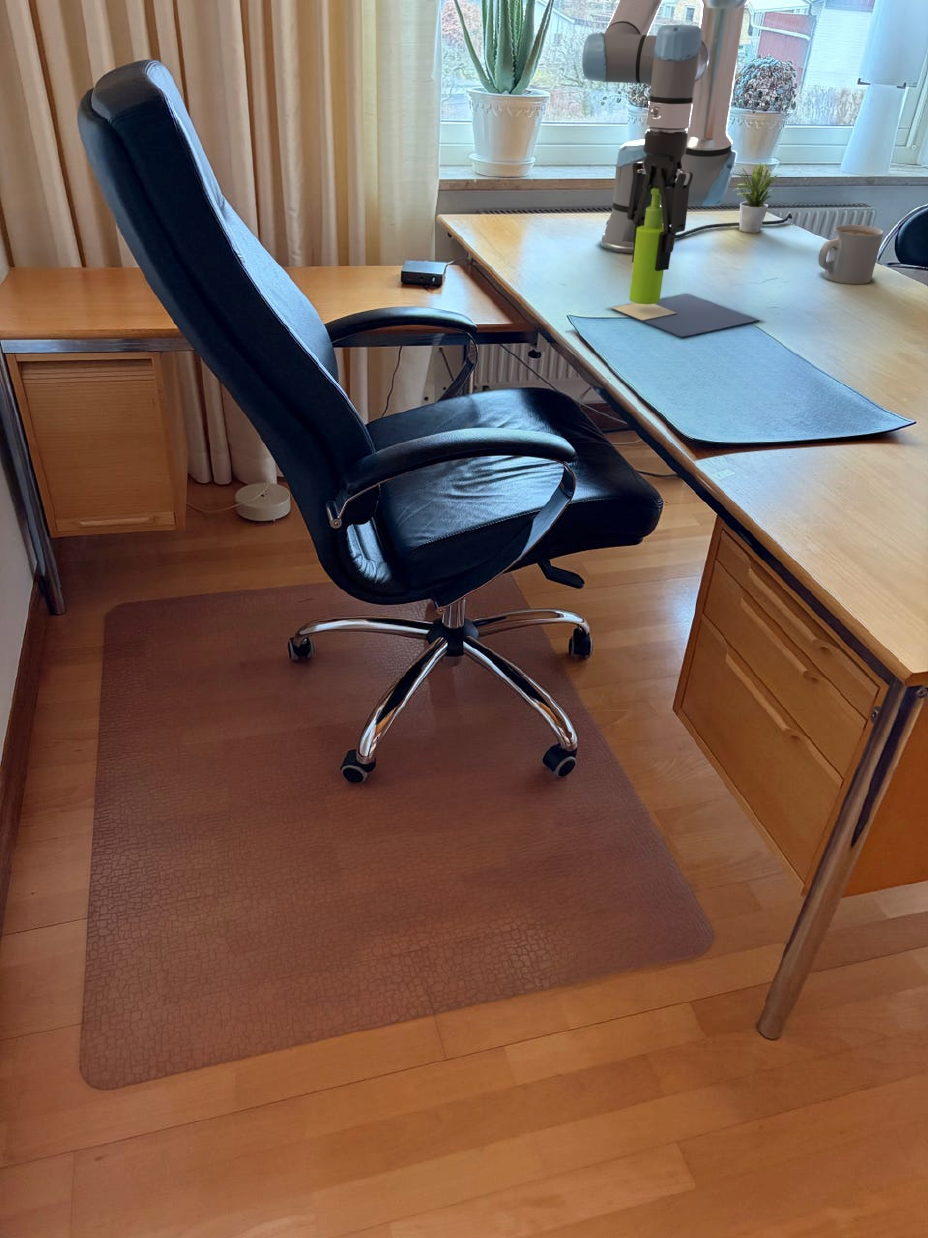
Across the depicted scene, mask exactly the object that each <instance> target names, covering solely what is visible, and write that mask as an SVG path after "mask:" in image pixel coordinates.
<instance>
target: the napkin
mask: <svg viewBox="0 0 928 1238" xmlns="http://www.w3.org/2000/svg"><path fill="white" fill-rule="evenodd" d="M611 310H612V311H614V312H617V313H618V314H622V315H623V316H626V317H628V318H631V319H634V320H636V321H637V322H641V323H643V324H645V325H647V326H651V327H653V328H655V329H657V330H661V331H663V332H665V333H668V334H669V335H673V336H675V337H677V338H679V339H685V338H691V337H695V336H699V335H704V334H708V333H713V332H717V331H718V332H719V331H722V330H726V329H731V328H735V327H740V326H746V325H751V324H754V323H755V324H756V323H758V322H760V319H757V318H755V317H753V316H749V315H746V314H744V313H741V312H738V311H736V310H733V309H730V308H727V307H725V306H723V305H722V306H721V305H718V304H716V303H713V302H710V301H708V300H705V299H703V298H699V297H697V296H694V295H692V294H688V293H685V294H679V295H674V296H669V297H664V298H660V301H659V302H658V303H656V304H638V303H634V302H633V303H629V304H624V305H619V306H613V307H611Z"/></svg>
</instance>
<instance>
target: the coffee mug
mask: <svg viewBox="0 0 928 1238" xmlns="http://www.w3.org/2000/svg"><path fill="white" fill-rule="evenodd" d="M883 236H884V231H883V229H880V228H877V227H875V226H874V227H873V226H869V225H864V224H863V225H862V224H840V225H837V226H835V227H834V229H833V233H832V238H831V239H829V240H827V241H825V242H824V243H823V244H822V245H821V247H820V250H819V253H818V257H817V258H818V259H817V261H818V262H817V263H818V265H819V267H821V268H822V269H823V270H824V271H823V278H825V279H827V280H828V281H832V282H835V283H839V284H845V285H846V284H847V285H865V284H868V283H870V282H871V281H872V278H873V274H874V272H875V271H874V270H875V266H876V264H877V259H878V255H879V251H880V247H881V244H882V240H883Z"/></svg>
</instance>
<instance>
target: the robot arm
mask: <svg viewBox="0 0 928 1238" xmlns="http://www.w3.org/2000/svg"><path fill="white" fill-rule="evenodd" d="M663 1H664V0H619V1H618V4H617V5H616V8H615V10H614V11H613V14H612V17H611V19H610V21H609V23H608V25H607V27H606V30H605V31H604V32H602V31H601V32H600V31H599V32H596V33H593V32H592V33H590V34H588V35H587V36H586V38H585V41H584V44H583V48H582V60H581V66H582V67H581V68H582V74H583V76H584V78H585V79H586V80H588V81H593V82H601V83H603V84H605V83H619V84H621V83H623V84H643V85H650V91H649V98H648V105H647V107H648V110H647V114H646V115H647V116H646V124H645V125H646V126H647V127H648V129H647V130H646V131H645V132H644V139H638V140H637V139H636V140H633V141H628V142H625V143H624V144H622V145H621V146H620V147H619V149H618V152H617V159H616V164H615V176H614V188H613V196H612V197H613V198H612V209H611V213H610V215H609V218H608V219H607V221H606V224H605V229H604V230H605V231H604V232H603V234H602V235H601V236H602V237H601V241H600V246H601V247H602V248H604V249H606V250H608V251H611V252H616V253H621V254H631V255H632V258H631V263H633V260H634V251H635V242H636V233H637V227H639V226H643V225H644V222H645V213H646V208H647V207H649V206H651V201H652V194H651V190H652V188H653V187H656V186H657V187H658V188H659V194H660V195H661V204H660V206H662V216H663V232H660V233H661V234H660V236H659V243H658V251H657V259H656V267H655V270H656V271H662V270H664V271H668V270H669V268H670V263H671V254H672V253H673V252H674V246H675V239H680V238H684V237H685V236H689V235H691V234H693V233H697V232H699V231H703V230H707V229H708V230H709V229H715V228H726V227H740V221H738V222H725V223H724V222H722V223H713V224H706V225H700V226H698V227H695V228H692V229H689V230H686V225H687V215H688V205H689V206H699V207H701V208H702V207H718V206H720V205H721V204H722V203H723V202H724V200H725V198H726V196H727V192H728V190H729V187H730V184H731V180H732V176H733V173H734V171H735V166H736V164H737V163H736V162H737V157H738V152H737V151H736V150H734V149H733V150H732V145H733V140H732V139H731V137H730V136H729V135H728V131H727V130H728V125H729V117H730V112H731V111H730V110H731V103H732V97H733V90H734V84H735V77H736V69H737V64H738V63H737V62H738V56H739V49H740V43H741V36H742V35H741V34H742V27H743V20H744V14H745V9H746V4H748V3H749V2H750V0H698V1H699V2H700V5H701V10H700V20H699V26H698V25H690V24H666V25H665V24H662V25H661V26H659V28H658V29H657V32H656V35H655V34H649V32H650V31H651V28H652V25H654V24H653V23H654V21H655V19H656V17H657V14H658V12H659V10H660V7H661V5H662V3H663ZM791 219H793V215H792V213H791V212H788V213H786V215H785V217H784V218H783V219H777V220H766V221H765V220H763V223H762V226H769V225H780V224H785V223H786V222H787V221H788V220H791ZM678 233H679V234H678Z"/></svg>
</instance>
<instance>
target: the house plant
mask: <svg viewBox="0 0 928 1238" xmlns="http://www.w3.org/2000/svg"><path fill="white" fill-rule="evenodd" d="M735 166H736V167H739V168H741V169H742V172H743V173H744V174H745V175H744V174H743V173H741V171H738V173H739V177H741V178H742V180H743V182H744V183H742V182H741V183H734V182H733V184H734V185H736V186H737V187H736V188H733V191H735V190H740V192H737V194H736V196H735V197H737V196H739V195H741V197H745V199H746V201H742V202H740V203H739V222H740V226H738V227H739V231H741V232H743V233H751V234H752V233H759V232H760V231H761V229H762V227H763V225H762V223H763V221H765V217H766V214H767V212H768V209H769V204H767V203H765V202H766V201H767V200H768V199H769V198H772V199H774V198H775V196H772V195H769V193H770V192H771V191H774V190H781V188H779V187H776V188H775V187H774V188H772V189H770V190H768V188H769V187H770V186H771V184H772V183H774V182H775V180H776V179H777V178H778V177H779V176H781V175H782V173H781V174H776V175H774V176H773V177H771V174H772V169H770V170H769V166H767V163H764V165H762V164H761V162H759V164H758V166H757V167H756V165H754V166H753V170H752V173H751V177H750V178H749V175H748V174H747V172H746V170H745V168H743V167H742V166H740V165H737V164H735ZM766 166H767V167H766ZM765 167H766V170H765ZM764 171H765V172H764ZM734 172H735V173H737V171H736V170H734ZM763 173H764V176H763ZM762 177H763V178H762ZM770 177H771V178H770ZM750 179H751V181H750ZM761 180H762V181H761ZM741 186H743V187H745V188H746V189H747V190H746V189H745V188H742V187H741ZM747 191H748V192H747Z"/></svg>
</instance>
